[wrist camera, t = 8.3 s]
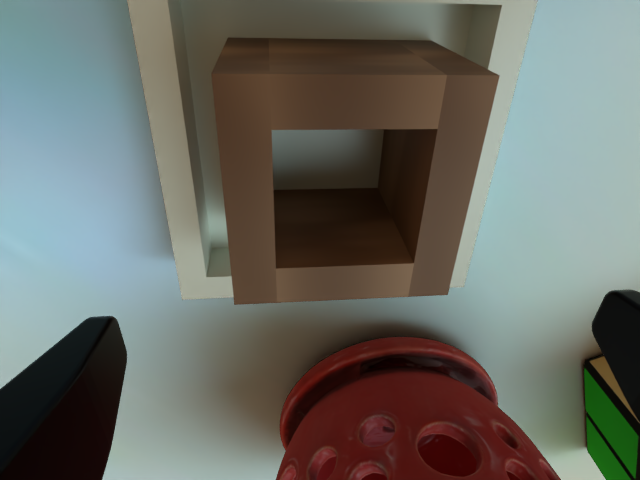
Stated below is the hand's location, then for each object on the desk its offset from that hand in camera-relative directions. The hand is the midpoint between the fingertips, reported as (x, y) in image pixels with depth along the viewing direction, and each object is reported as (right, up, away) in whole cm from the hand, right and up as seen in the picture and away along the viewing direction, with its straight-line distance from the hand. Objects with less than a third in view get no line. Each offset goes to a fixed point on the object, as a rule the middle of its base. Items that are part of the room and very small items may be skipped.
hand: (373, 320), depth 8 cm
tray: (-1, +5, +8) cm, 10 cm away
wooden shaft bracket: (-1, +5, +8) cm, 9 cm away
